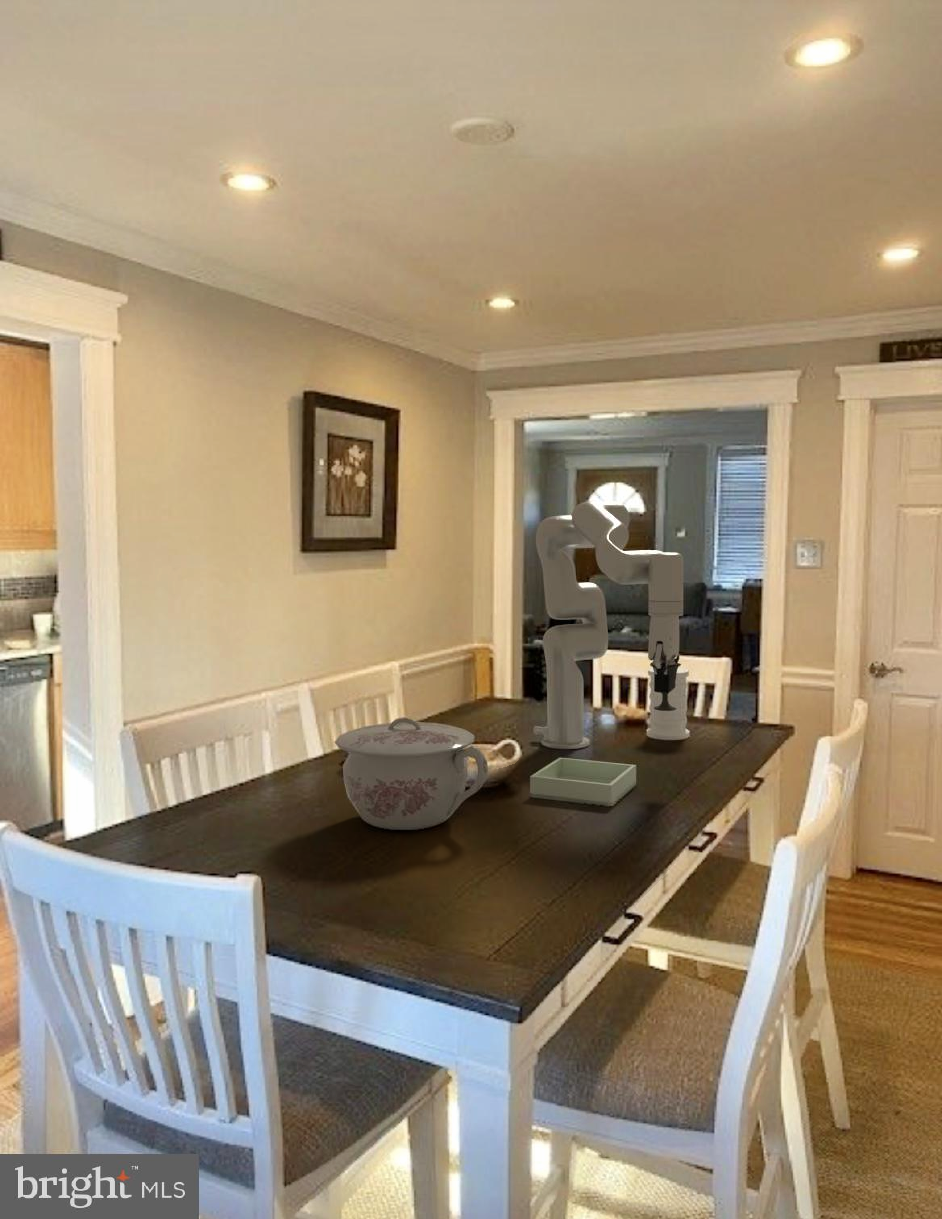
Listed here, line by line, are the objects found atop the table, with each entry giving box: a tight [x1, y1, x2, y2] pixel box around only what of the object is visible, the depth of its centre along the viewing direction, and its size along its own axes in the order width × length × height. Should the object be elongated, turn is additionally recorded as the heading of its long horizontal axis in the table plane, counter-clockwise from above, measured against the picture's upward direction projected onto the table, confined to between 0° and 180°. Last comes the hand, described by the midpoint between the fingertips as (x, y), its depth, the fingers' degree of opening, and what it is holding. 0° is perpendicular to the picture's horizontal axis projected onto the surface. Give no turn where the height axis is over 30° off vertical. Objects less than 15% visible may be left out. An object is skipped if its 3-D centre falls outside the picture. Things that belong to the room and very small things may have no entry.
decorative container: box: [646, 667, 691, 741], centre depth 262 cm, size 12×12×18 cm
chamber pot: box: [334, 717, 489, 831], centre depth 189 cm, size 28×28×21 cm
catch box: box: [529, 757, 637, 807], centre depth 209 cm, size 18×18×4 cm
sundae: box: [649, 654, 682, 711], centre depth 213 cm, size 7×7×15 cm
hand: (664, 689), depth 214 cm, fingers closed on sundae, 5 cm apart
